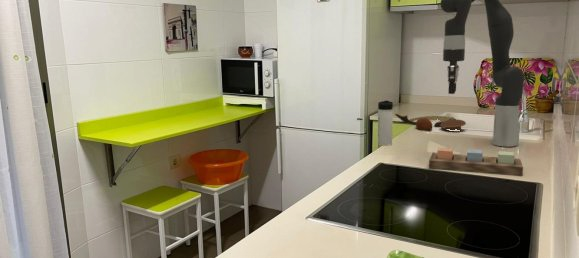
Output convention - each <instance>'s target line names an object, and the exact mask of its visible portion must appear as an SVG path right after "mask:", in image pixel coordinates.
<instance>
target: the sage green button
mask: <svg viewBox="0 0 579 258" xmlns="http://www.w3.org/2000/svg"><path fill="white" fill-rule="evenodd" d="M497 157H498V163H501V164H514V158H515V157H516V156H515V152H514V151H501V150H500V151H497ZM515 159H516V158H515Z"/></svg>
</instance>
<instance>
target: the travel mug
mask: <svg viewBox="0 0 579 258" xmlns="http://www.w3.org/2000/svg"><path fill="white" fill-rule="evenodd" d="M377 106H378V107H377V109H378V110H377V145H379V146H383V147H384V146H385V147H387V146H388V147H389V146H392V145H393V121H394V118H393V117H394V116H393V115H394V114H393V113H394V112H393V110H394V108H393V106H394V105H393V102H392V101H389V100H384V101H379V102H378V104H377Z"/></svg>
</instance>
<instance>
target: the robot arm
mask: <svg viewBox="0 0 579 258" xmlns="http://www.w3.org/2000/svg"><path fill="white" fill-rule="evenodd" d="M475 1H476V0H440V8H441V10H442V11H443V12H445V13H448V14H450V13H456V14H455V15H454V17H453V18H450V19H447V20H446V21H445V22H444V38H443V45H442V46H443V49H442V50H443V51H442V60H443V62H449V65H448V66H447V82H448V94H449V95H455V94H456V91H457V82H458V77H459V70H460V65H459V64H458V62H463V61H465V54H466V53H465V52H466V50H465V49H466V38H465V37H466V35H465V33H466V23H467V19H468V16H469V13H470V10H471V7H472V3H474V2H475ZM483 1H484V6H485V12H486V21H487V30H488V36H489V41H490V49H491V59H492V80H493V82H494V84H495V86H497V87H498V88H500V89H501V94H499V96H497V97H495V102H494V119H493V120H494V121H493V134H492V144H493V145H494V146H498V147H516V146H520V145H519V144H520V143H519V142H520V131H521V130H520V128H521V122H519V113H520V112H519V111H520V102H521V99H522V97H523V91H524V83H525V74H524V72H523V70H522V69H521V68H520V67H517V66H512V65H511V62H510V49H511V45H512V42H513V39H514V33H515V31H514V24H513V17H512V15H511V13H510V12H509V11H508V10H507V8H505V6H504V5H503V4H502V3H501V2H500V0H483Z"/></svg>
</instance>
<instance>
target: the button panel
mask: <svg viewBox="0 0 579 258" xmlns="http://www.w3.org/2000/svg"><path fill="white" fill-rule="evenodd" d="M428 169H430V170H431V169H432V170H442V171H443V170H445V171H458V172H466V173H467V172H469V173H470V172H471V173H480V174H494V175H508V176H516V177H517V176H519V177H523V174H524V173H523V171H524V166H523V163H522V159H521V158H514V164H501V163H498V156H497V157H496V156H483V157H482V162H473V161H467V154H454V153H453V158H452V160H445V159H437V152H432V154H431V155H430V158H429V160H428Z"/></svg>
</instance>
